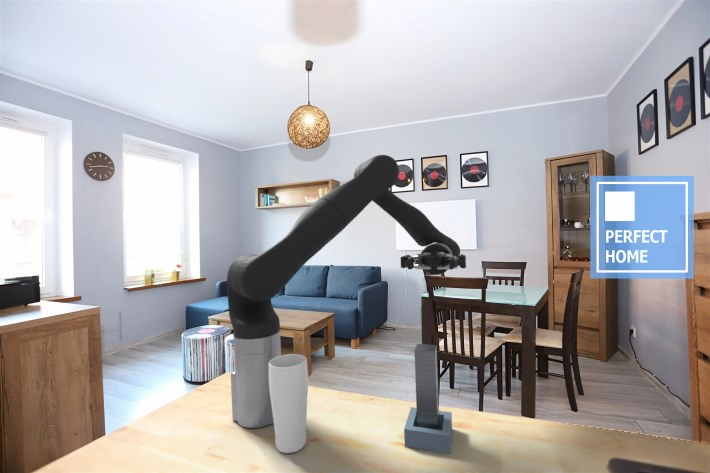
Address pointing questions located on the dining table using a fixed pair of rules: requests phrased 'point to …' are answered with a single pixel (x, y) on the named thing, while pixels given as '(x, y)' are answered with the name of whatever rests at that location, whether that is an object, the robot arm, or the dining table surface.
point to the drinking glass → (289, 400)
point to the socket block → (429, 433)
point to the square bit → (427, 386)
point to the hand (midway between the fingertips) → (429, 264)
